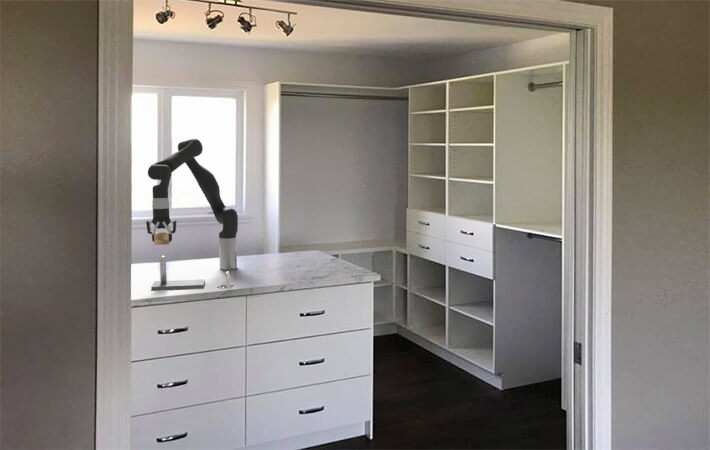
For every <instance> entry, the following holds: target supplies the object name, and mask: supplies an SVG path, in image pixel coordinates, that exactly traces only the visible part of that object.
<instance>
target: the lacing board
mask: <svg viewBox="0 0 710 450" xmlns="http://www.w3.org/2000/svg"><path fill="white" fill-rule="evenodd" d="M205 285H206V279H203V278H202V279H179V280H178V279H175V280H167V284H161V280H156V281H155V280H154V282H153V284H152V285H151V287H150V289H151V291H158V290H159V291H161V290H164V291H165V290H186V289H188V290H189V289H204V288H205Z"/></svg>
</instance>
